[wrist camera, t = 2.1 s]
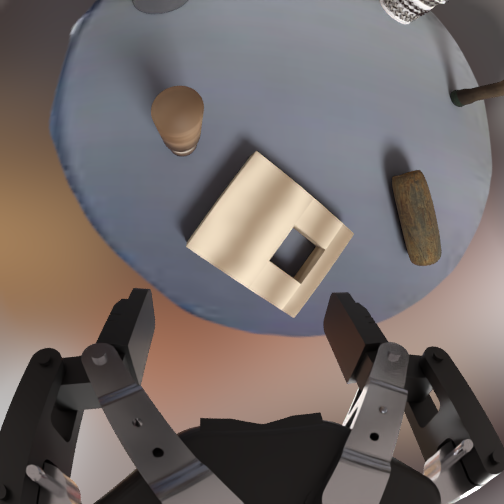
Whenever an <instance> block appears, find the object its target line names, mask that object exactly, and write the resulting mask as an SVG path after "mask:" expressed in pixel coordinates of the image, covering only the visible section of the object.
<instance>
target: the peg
mask: <svg viewBox="0 0 504 504" xmlns="http://www.w3.org/2000/svg"><path fill="white" fill-rule="evenodd" d="M203 111H204V104H203V101H202V98H201V96H200V95H199V94H198V93H197V92H196V91H195V90H193V89H192V88H189V87H186V86H173V87H170V88H167V89H165V90H164V91H162V92H161V93H160V94H159V95H158V96H157V97H156V98H155V100H154V102H153V104H152V108H151V116H152V119H153V121H154V123H155V125H156V127H157V129H158V131H159V133H160V135H161V137H162V139H163V141H164V143H165V145H166V146H167V147H168V148H169V149H170V150H171V151H172V152H173V153H174V154H175V155H177V156H187V155H190V154H191V153H192V152H193V151H194V150H195V148H196V146H197V143H198V141H199V139H200V134H201V126H202V118H203Z"/></svg>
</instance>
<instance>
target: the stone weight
mask: <svg viewBox="0 0 504 504" xmlns="http://www.w3.org/2000/svg"><path fill="white" fill-rule="evenodd" d="M392 188H393V192H394V197H395V201H396V206H397V210H398V214H399V218H400V223H401V227H402V231H403V235H404V239H405V244H406V247H407V251H408V255H409V258H410V260H411V262H412V263H413V264H415V265H419V266H427V265H431V264H434V263H436V262H437V261H438V260H439V259H440V257H441V244H440V235H439V230H438V224H437V219H436V215H435V210H434V206H433V202H432V198H431V194H430V191H429V188H428V185H427V182H426V179H425V177H424V175H423V173H422V172H421V171H420V170H416V171H411V172H408V173H405V174H402V175H399V176H393V177H392Z"/></svg>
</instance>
